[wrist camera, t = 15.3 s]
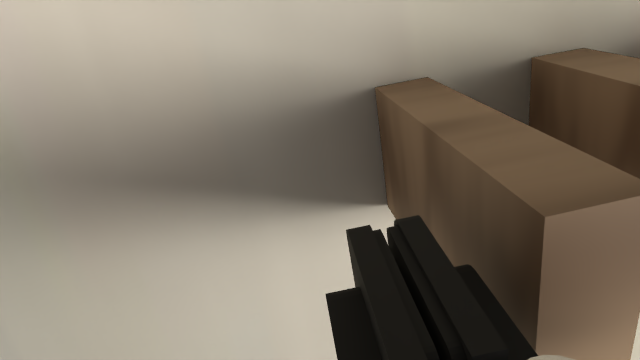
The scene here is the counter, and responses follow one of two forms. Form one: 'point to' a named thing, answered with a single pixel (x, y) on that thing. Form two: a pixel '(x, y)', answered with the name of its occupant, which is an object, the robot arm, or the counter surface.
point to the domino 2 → (589, 104)
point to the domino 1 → (519, 216)
